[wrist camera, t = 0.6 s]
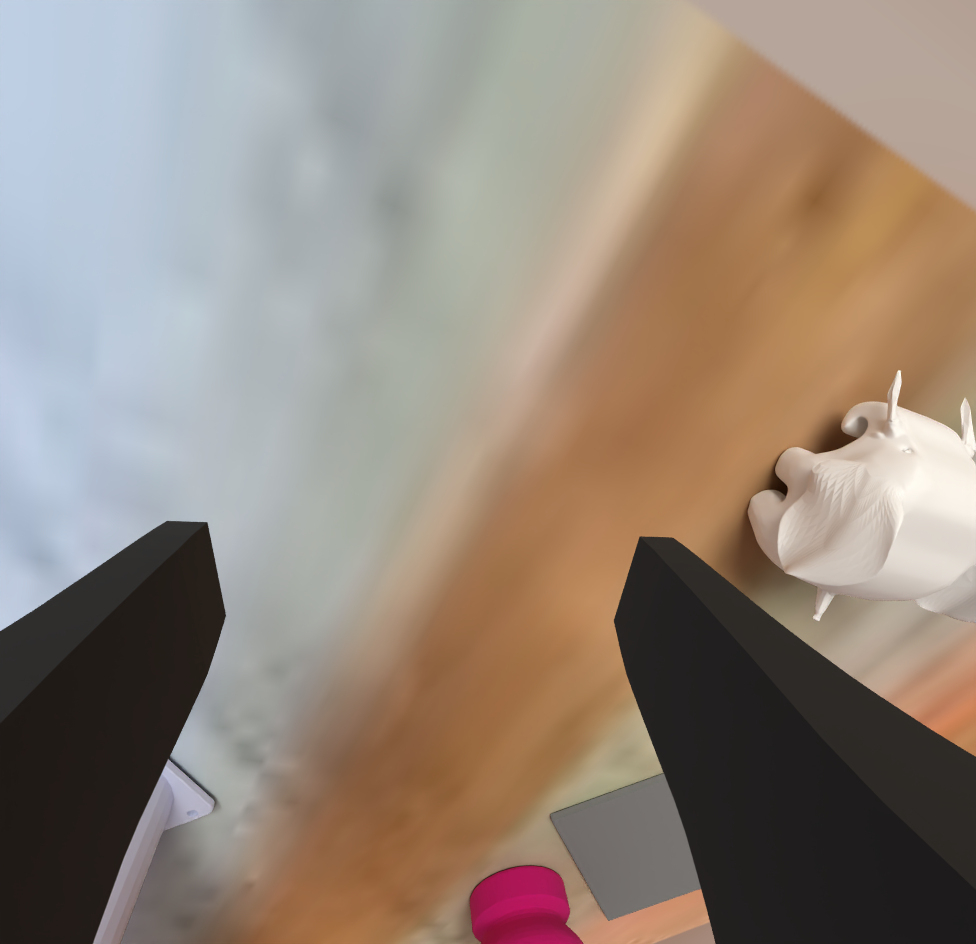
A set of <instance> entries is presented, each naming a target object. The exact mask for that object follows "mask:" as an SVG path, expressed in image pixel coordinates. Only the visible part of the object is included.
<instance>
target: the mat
mask: <svg viewBox="0 0 976 944" xmlns="http://www.w3.org/2000/svg"><path fill="white" fill-rule="evenodd" d="M550 815H551V819H552V822H553V824H554V826H555V827H556V829H557V831H558V833H559V834H560V836H561V838H562V840H563V841H564V843H565V845H566V847H567V849H568V850H569V852H570V854H571V856H572V857H573V859H574V861H575V863H576V865H577V866H578V868H579V870H580V872H581V873H582V875H583V877H584V879H585V880H586V882H587V884H588V886H589V888H590V889H591V891H592V893H593V895H594V896H595V898H596V900H597V902H598V903H599V905H600V907H601V909H602V911H603V912H604V914H605V916H606V918H607V919H608V921H610V920H613V919H616V918H618V917H621V916H624V915H627V914H630V913H633V912H636V911H638V910H641V909H644V908H647V907H650V906H653V905H655V904H658V903H661V902H664V901H667V900H670V899H673V898H675V897H678V896H681V895H684V894H687V893H690V892H693V891H695V890H698V889H701V886H700V883H699V879H698V876H697V872H696V868H695V865H694V861H693V858H692V854H691V851H690V847H689V844H688V840H687V837H686V833H685V830H684V827H683V824H682V822H681V819H680V816H679V813H678V810H677V807H676V804H675V801H674V799H673V796H672V793H671V791H670V788H669V785H668V783H667V780H666V778H665V775H664V773H663V774H660V775H658V776H655V777H652V778H649V779H647V780H644V781H641V782H638V783H636V784H633V785H630V786H627V787H624V788H622V789H619V790H616V791H613V792H611V793H608V794H605V795H602V796H600V797H597V798H594V799H591V800H588V801H586V802H583V803H580V804H577V805H575V806H572V807H569V808H566V809H564V810H561V811H558V812H555V813H552V814H550Z"/></svg>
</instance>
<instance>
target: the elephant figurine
mask: <svg viewBox="0 0 976 944" xmlns="http://www.w3.org/2000/svg"><path fill="white" fill-rule="evenodd" d="M900 387H901V371H899V370H898V372H897V374H896V377H895V379H894V381H893V383H892V385H891V387H890V389H889V392H888V394H887V397H888V403H883V402H864V403H860V404H857V405H855V406H854V407H852V408H851V409H850V410H849V411H848V412H847V414H846V415H845V417H844V419H843V421H842V425H841V429H842V431H843V432H844V433H845V434H848V435H851V436H853V437H856V438H858V439H857V440H855V441H853V442H852V443H850V444H848V445H846V446H844V447H842V448H840V449H837V450H833V451H829V452H824V453H819V454H814V453H812V452H810V451H807V450H805V449H802V448H798V447H793V448H789V449H787V450H786V451H785V452H784V453H783V454H782V455H781V456H780V458H779V460H778V462H777V464H776V467H775V472H776V475H777V476H778V477H779V478H780V479H781V480H782V481H783V482H784V483H785V484H786V485H787V487H788V493H787V496H785V495H784V494H782V493H781V492H779V491H777V490H764V491H761V492H759V493H757V494H756V495H754V496H753V497H752V498H751V500H750V505H749V508H748V516H749V519H750V522H751V525H752V528H753V531H754V534H755V537H756V540H757V542H758V544H759V546H760V548H761V549H762V550H763V552H764V553H765V554H766V555H767V556H768V558H769V559H770V560H771V561H772V562H773V563H775V564H776V565H777V566H778V567H779V568H780V569H782V570H783V571H784V573H786V574H790V575H793V576H795V577H797V578H799V579H801V580H803V581H805V582H807V583H809V584H812V585H814V586H817V587H818V591H817V598H816V604H815V615H814V616H813V619H814V620H815V621H820V618H821V615H822V614H823V613H824V612H825V610H826V609H827V607H828V605H829V604H830V602H831V600H832V599H833V597H834V595H840V594H843V595H847V596H851V597H856V598H861V599H867V600H877V601H907V600H914V601H915V602H916V603H917V604H918V605H919V606H921V607H922V608H924V609H926V610H929V611H932V612H936V613H940V614H944V615H947V616H949V617H952V618H954V619H958V620H961V621H965V622H973V623H976V464H975V463H974V461H973V460H972V457H973V456H974V452H975V451H976V443H975V438H974V433H973V427H972V419H971V411H970V407H969V404H968V402H967V400H966V398H965V399H964V401H963V403H962V406H961V422H962V438H961V439H960V437H959V436H958V434H957V433H956V432H954V431H953V430H952V429H950V428H949V427H947V426H945V425H943V424H941V423H939V422H937V421H935V420H933V419H930V418H928V417H925V416H923V415H920V414H917V413H915V412H912V411H909V410H907V409H904V408H901V407H898V406H897V400H898V396H899V392H900Z"/></svg>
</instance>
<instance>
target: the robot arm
mask: <svg viewBox="0 0 976 944" xmlns="http://www.w3.org/2000/svg"><path fill="white" fill-rule="evenodd" d="M225 617H226V614H225V609H224V604H223V599H222V593H221V588H220V583H219V578H218V573H217V568H216V563H215V558H214V553H213V548H212V543H211V538H210V533H209V528H208V523H207V522H181V521H166V522H165V523H163V524H161V525H160V526H158V527H156V528H155V529H153V530H152V531H150V532H149V533H147V534H146V535H144V536H143V537H141V538H140V539H138V540H137V541H135V542H134V543H132V544H131V545H129V546H128V547H126V548H125V549H123V550H122V551H121V552H119V553H118V554H116V555H115V556H113V557H112V558H110V559H109V560H107V561H106V562H105V563H103V564H102V565H100V566H99V567H97V568H96V569H94V570H93V571H91V572H90V573H88V574H87V575H86V576H84V577H83V578H81V579H80V580H78V581H77V582H75V583H74V584H72V585H71V586H69V587H68V588H66V589H65V590H63V591H62V592H60V593H59V594H57V595H56V596H54V597H53V598H51V599H50V600H48V601H47V602H45V603H44V604H42V605H41V606H39V607H38V608H36V609H35V610H33V611H32V612H30V613H29V614H27V615H26V616H24V617H22V618H21V619H19V620H18V621H16V622H14V623H13V624H11V625H10V626H8V627H6V628H5V629H3V630H2V631H0V944H120V943H121V940H122V938H123V935H124V932H125V930H126V927H127V924H128V922H129V919H130V916H131V914H132V911H133V909H134V906H135V903H136V901H137V898H138V895H139V893H140V890H141V887H142V885H143V882H144V880H145V877H146V874H147V872H148V869H149V866H150V864H151V861H152V858H153V856H154V853H155V851H156V848H157V845H158V843H159V840H160V837H161V835H162V832H163V831H165V830H168V829H170V828H173V827H176V826H178V825H181V824H184V823H186V822H189V821H192V820H195V819H197V818H200V817H203V816H205V815H208V814H209V813H211V812H212V811H213V808H214V805H215V802H214V800H213V799H212V798H211V797H210V796H209V795H208V794H206V793H205V792H204V791H203V790H202V789H201V788H200V787H199V786H198V785H196V784H195V783H194V782H193V781H192V780H191V779H190V778H189V777H188V776H186V775H185V774H184V773H183V772H182V771H181V770H180V769H179V768H177V767H176V766H175V765H174V764H173V763H172V762H171V761H170V760H169V757H170V755H171V753H172V750H173V748H174V746H175V744H176V742H177V740H178V738H179V735H180V733H181V731H182V729H183V727H184V725H185V723H186V720H187V718H188V716H189V714H190V712H191V710H192V707H193V705H194V703H195V701H196V699H197V696H198V694H199V692H200V690H201V688H202V685H203V683H204V681H205V679H206V676H207V674H208V671H209V668H210V665H211V662H212V659H213V656H214V653H215V650H216V647H217V644H218V640H219V637H220V634H221V630H222V627H223V624H224V620H225ZM614 623H615V628H616V632H617V637H618V641H619V646H620V650H621V654H622V658H623V662H624V666H625V670H626V674H627V677H628V679H629V682H630V685H631V688H632V691H633V693H634V696H635V699H636V701H637V704H638V707H639V709H640V712H641V715H642V717H643V720H644V723H645V725H646V728H647V730H648V733H649V736H650V738H651V741H652V744H653V746H654V749H655V751H656V754H657V757H658V759H659V762H660V764H661V767H662V770H663V772H664V775H665V778H666V780H667V783H668V785H669V788H670V791H671V793H672V796H673V799H674V801H675V804H676V807H677V810H678V813H679V816H680V819H681V822H682V824H683V827H684V830H685V833H686V837H687V840H688V844H689V847H690V851H691V854H692V858H693V861H694V865H695V868H696V872H697V876H698V879H699V883H700V886H701V890H702V893H703V897H704V900H705V904H706V908H707V912H708V916H709V919H710V923H711V927H712V931H713V935H714V939H715V943H716V944H976V757H975V756H974V755H972V754H970V753H968V752H967V751H965V750H963V749H962V748H960V747H959V746H957V745H955V744H954V743H952V742H950V741H949V740H947V739H945V738H944V737H942V736H941V735H939V734H937V733H936V732H934V731H932V730H931V729H929V728H928V727H926V726H925V725H923V724H922V723H920V722H919V721H917V720H915V719H914V718H912V717H911V716H909V715H908V714H906V713H905V712H903V711H902V710H900V709H899V708H897V707H896V706H894V705H893V704H891V703H889V702H888V701H886V700H885V699H883V698H882V697H880V696H879V695H877V694H876V693H874V692H873V691H871V690H870V689H868V688H867V687H866V686H864V685H863V684H861V683H860V682H858V681H857V680H855V679H854V678H853V677H851V676H850V675H848V674H847V673H846V672H844V671H843V670H841V669H840V668H839V667H837V666H836V665H835V664H833V663H832V662H831V661H829V660H828V659H826V658H825V657H824V656H822V655H821V654H820V653H818V652H817V651H816V650H814V649H813V648H811V647H810V646H809V645H807V644H806V643H805V642H803V641H802V640H801V639H800V638H798V637H797V636H796V635H794V634H793V633H792V632H790V631H789V630H788V629H787V628H785V627H784V626H783V625H781V624H780V623H779V622H778V621H776V620H775V619H774V618H773V617H771V616H770V615H769V614H768V613H766V612H765V611H764V610H763V609H761V608H760V607H759V606H758V605H756V604H755V603H754V602H753V601H751V600H750V599H749V598H748V597H747V596H745V595H744V594H743V593H742V592H740V591H739V590H738V589H737V588H736V587H734V586H733V585H732V584H731V583H729V582H728V581H727V580H726V579H725V578H723V577H722V576H721V575H720V574H719V573H717V572H716V571H715V570H714V569H712V568H711V567H710V566H709V565H708V564H706V563H705V562H704V561H703V560H701V559H700V558H699V557H698V556H696V555H695V554H694V553H693V552H691V551H690V550H689V549H688V548H686V547H685V546H684V545H682V544H681V543H680V542H678V541H677V540H675V539H674V538H669V537H639V541H638V544H637V547H636V550H635V554H634V557H633V560H632V563H631V567H630V570H629V573H628V576H627V580H626V583H625V586H624V589H623V593H622V596H621V599H620V602H619V606H618V609H617V612H616V615H615V619H614Z"/></svg>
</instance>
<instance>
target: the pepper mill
mask: <svg viewBox="0 0 976 944" xmlns="http://www.w3.org/2000/svg"><path fill="white" fill-rule="evenodd" d="M470 910H471V920H472V930H473V934H474V936H475V938H476V939H478V940H479V941H480V942H481V944H583V942H582V941H581V940H580V938H579V937H578V936H577V935H576V934H575V933H574V932H573V931H572V930H571V929H570V928H569V927H568V926H567V925H566V924H565V923H566V922H567V920H568V918H569V915H570V908H569V904H568V900H567V895H566V891H565V887H564V882H563V880H562V878H561V877H560V876H559V874H557V873H556V872H554V871H553V870H551V869H548V868H545V867H539V866H521V867H515V868H510V869H507V870H504V871H501V872H498V873H496V874H494V875H492V876H490V877H488V878H486V879H485V880H484V881H482V882H481V883H480V884H479V885H478V886H477V887H476V888H475V889H474V891H473V893H472V895H471V898H470Z"/></svg>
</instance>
